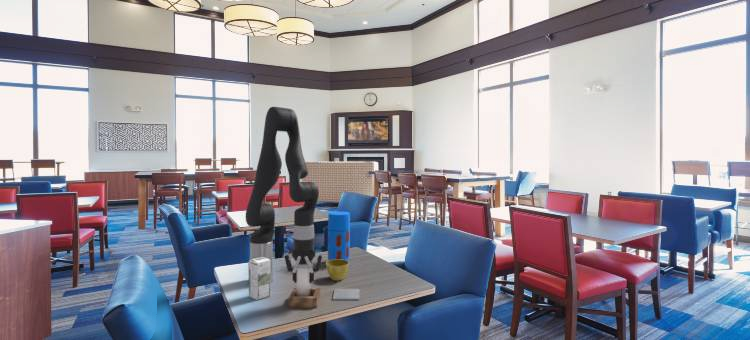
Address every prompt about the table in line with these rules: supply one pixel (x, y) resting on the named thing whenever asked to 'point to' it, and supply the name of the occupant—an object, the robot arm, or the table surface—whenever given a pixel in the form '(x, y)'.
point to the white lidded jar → (303, 280)
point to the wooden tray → (305, 299)
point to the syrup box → (259, 278)
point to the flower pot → (337, 268)
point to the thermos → (339, 236)
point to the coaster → (346, 294)
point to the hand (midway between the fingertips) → (303, 281)
